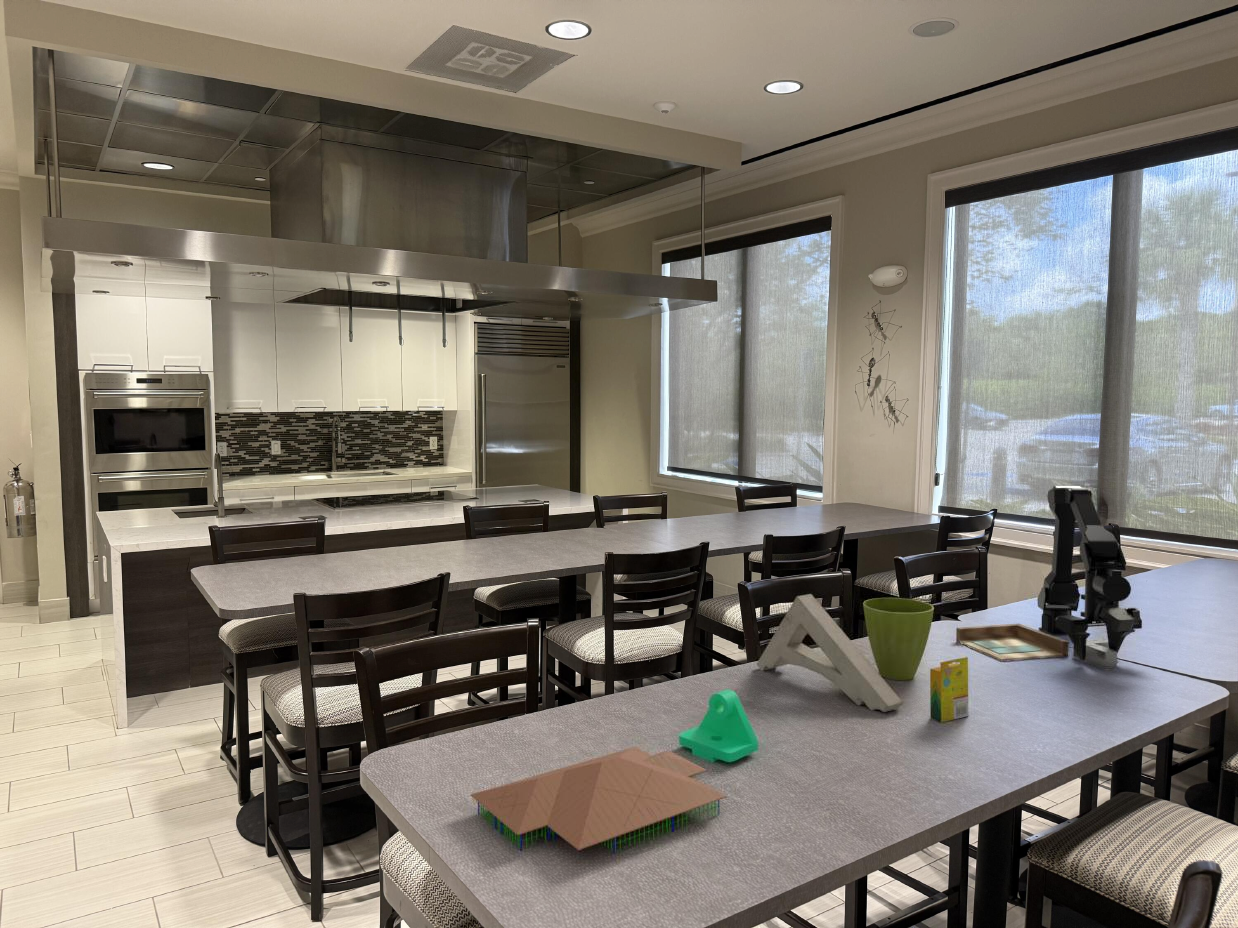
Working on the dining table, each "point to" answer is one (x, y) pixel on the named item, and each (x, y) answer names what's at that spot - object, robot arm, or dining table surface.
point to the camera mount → (722, 731)
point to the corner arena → (1012, 642)
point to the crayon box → (949, 690)
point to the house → (600, 798)
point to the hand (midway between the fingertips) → (1097, 658)
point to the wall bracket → (827, 655)
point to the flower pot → (897, 634)
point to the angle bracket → (1099, 654)
